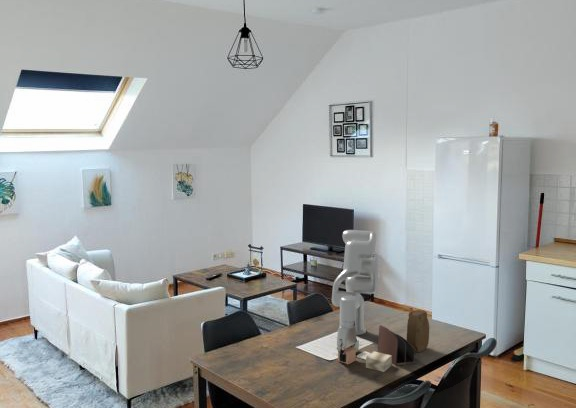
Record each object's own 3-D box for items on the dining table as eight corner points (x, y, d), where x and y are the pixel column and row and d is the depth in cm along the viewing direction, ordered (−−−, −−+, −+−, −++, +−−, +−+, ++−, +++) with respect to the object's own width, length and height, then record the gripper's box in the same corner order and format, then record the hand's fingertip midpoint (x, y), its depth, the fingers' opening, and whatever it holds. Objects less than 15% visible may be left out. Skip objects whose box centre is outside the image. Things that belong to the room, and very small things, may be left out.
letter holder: (395, 366, 252) (396, 337, 250) (377, 350, 271) (378, 323, 269) (414, 364, 254) (415, 335, 253) (395, 348, 273) (396, 321, 272)
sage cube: (341, 351, 268) (342, 339, 267) (348, 348, 273) (348, 336, 272) (351, 354, 264) (352, 343, 263) (358, 351, 269) (358, 339, 268)
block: (415, 354, 266) (417, 315, 263) (404, 349, 272) (406, 310, 269) (430, 349, 272) (432, 311, 269) (419, 344, 278) (420, 307, 276)
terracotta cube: (337, 360, 255) (338, 348, 255) (344, 357, 260) (345, 345, 259) (348, 364, 252) (348, 352, 251) (355, 360, 256) (355, 348, 255)
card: (355, 356, 262) (355, 355, 261) (364, 352, 268) (364, 351, 267) (369, 361, 256) (369, 360, 256) (378, 356, 262) (378, 355, 262)
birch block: (365, 367, 250) (366, 357, 249) (373, 361, 257) (374, 351, 257) (383, 372, 245) (384, 362, 244) (391, 365, 252) (391, 355, 252)
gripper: (351, 316, 262) (350, 351, 265) (330, 325, 249) (329, 362, 252) (364, 319, 257) (363, 355, 260) (343, 329, 244) (342, 367, 247)
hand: (346, 358), depth 256 cm, fingers closed on terracotta cube, 6 cm apart
